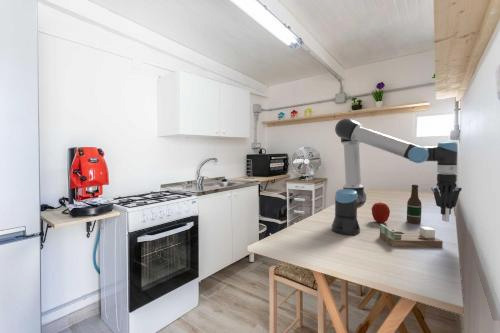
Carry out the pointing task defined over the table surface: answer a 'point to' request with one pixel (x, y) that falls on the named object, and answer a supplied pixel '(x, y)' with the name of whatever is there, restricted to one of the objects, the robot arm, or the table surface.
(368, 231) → the table surface
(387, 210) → the apple
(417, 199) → the beer bottle
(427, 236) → the ivory block
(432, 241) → the board
